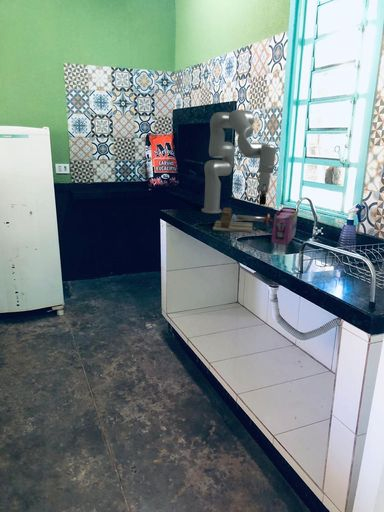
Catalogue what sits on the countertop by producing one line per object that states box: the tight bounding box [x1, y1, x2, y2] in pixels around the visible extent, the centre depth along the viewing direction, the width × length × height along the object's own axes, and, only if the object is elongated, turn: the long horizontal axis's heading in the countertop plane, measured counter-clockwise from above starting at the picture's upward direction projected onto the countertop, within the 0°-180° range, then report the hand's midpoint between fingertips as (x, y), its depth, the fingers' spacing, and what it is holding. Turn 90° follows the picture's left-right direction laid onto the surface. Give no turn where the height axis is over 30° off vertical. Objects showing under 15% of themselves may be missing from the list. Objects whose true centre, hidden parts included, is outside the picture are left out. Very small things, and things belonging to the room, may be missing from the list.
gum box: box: [270, 206, 299, 246], centre depth 198 cm, size 24×8×14 cm, turn 157°
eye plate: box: [212, 207, 253, 234], centre depth 217 cm, size 18×20×9 cm
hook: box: [235, 213, 274, 227], centre depth 215 cm, size 6×19×6 cm, turn 81°
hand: (262, 202), depth 212 cm, fingers open, 9 cm apart
